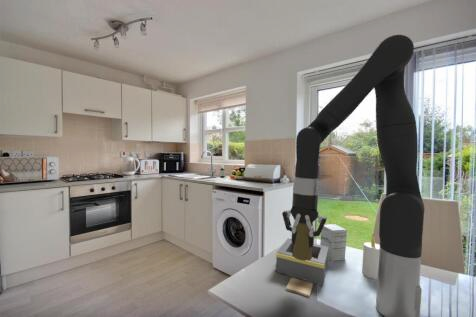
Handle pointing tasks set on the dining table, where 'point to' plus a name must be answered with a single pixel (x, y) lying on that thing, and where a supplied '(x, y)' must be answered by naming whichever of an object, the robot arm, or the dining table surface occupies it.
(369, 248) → the candle
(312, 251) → the box
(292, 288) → the cork coaster
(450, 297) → the dining table surface
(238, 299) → the dining table surface
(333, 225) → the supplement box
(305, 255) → the olive brown knobbed peg
